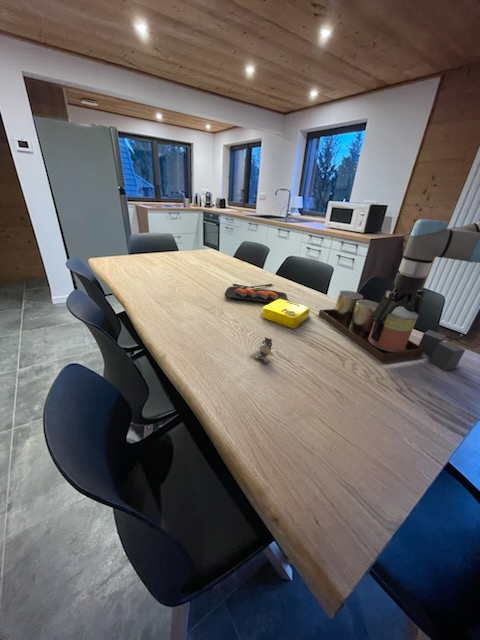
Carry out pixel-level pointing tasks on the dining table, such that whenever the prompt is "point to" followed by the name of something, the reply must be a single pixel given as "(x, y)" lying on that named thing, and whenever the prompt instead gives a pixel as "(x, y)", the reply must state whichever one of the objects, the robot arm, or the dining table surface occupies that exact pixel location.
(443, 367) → the grey block
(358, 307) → the tin
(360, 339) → the tray
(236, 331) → the dining table surface
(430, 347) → the grey block
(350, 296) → the tin
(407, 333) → the canned food
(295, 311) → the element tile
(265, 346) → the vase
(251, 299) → the sushi plate
